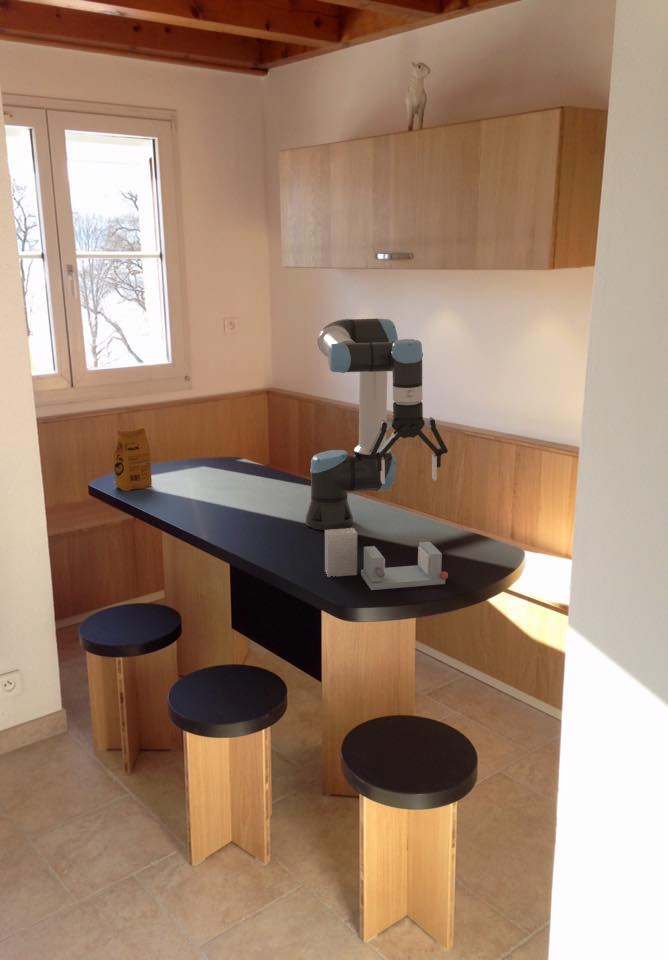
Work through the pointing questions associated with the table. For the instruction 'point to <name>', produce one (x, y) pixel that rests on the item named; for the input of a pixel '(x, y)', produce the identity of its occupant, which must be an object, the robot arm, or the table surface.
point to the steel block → (341, 552)
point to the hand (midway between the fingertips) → (408, 480)
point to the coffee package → (132, 460)
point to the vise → (413, 571)
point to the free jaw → (374, 564)
